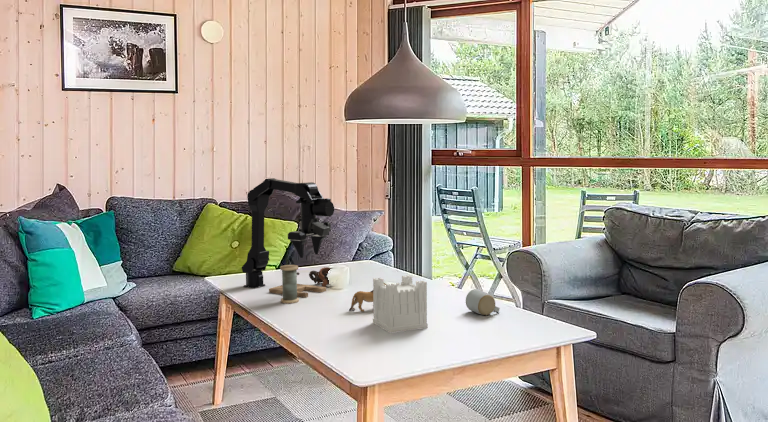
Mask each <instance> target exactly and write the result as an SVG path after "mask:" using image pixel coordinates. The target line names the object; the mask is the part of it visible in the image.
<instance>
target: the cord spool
mask: <svg viewBox="0 0 768 422" xmlns="http://www.w3.org/2000/svg"><path fill="white" fill-rule="evenodd" d="M279 269H280V271H281V274H282V275H281V278H282V280H281V281H282V284H281V285H283V294H282V298H281V299H280V303H283V304H297V303H298V302H300V298H299V297H298V296H297V284H298V279H297V276H298V275H297V270H299V265H297V264H285V265H281V266H280V268H279Z"/></svg>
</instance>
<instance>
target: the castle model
mask: <svg viewBox="0 0 768 422" xmlns="http://www.w3.org/2000/svg"><path fill="white" fill-rule="evenodd" d="M372 282H373V283H372V286H373V287H372V288H373V289H372V290H373V302H372V304H373V305H372V306H374V308H373V318H372V323H373V324H375V326H377V327H380V329H383V331H386V332H388V333H389V334H390V333H391V334H392V333H398V332H406V331H414V330H421V329H422V330H423V329H428V327H429V326H428V325H429V324H428V310H427V308H428V302H427V299H428V298H427V296H428V288H427V285H428V283H427V281H425V280H420V281H419V280H417V281H415V284H413V276H412V275H409V274H407V275H401V282H395V283H394V282H393V283H385V280H384V278H381V277H375V278H374V277H373V278H372ZM384 283H385V284H386V286H385V284H384Z"/></svg>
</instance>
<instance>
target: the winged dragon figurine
mask: <svg viewBox="0 0 768 422" xmlns="http://www.w3.org/2000/svg"><path fill="white" fill-rule="evenodd" d="M330 269H333V268H331V267H327V266H326V267H321V268H320V269H319V271H316V270H311V271H310V272H309V273H308V276H309V279H310V280H311V281H313V282H314V284H317V285H319V284H320V283H321V287H326V288H327V286H329V285H330V284H329V280H328V277H329V276H328V274H329V273H328V271H329V270H330Z"/></svg>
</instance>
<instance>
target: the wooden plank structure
mask: <svg viewBox="0 0 768 422" xmlns="http://www.w3.org/2000/svg"><path fill="white" fill-rule="evenodd" d="M299 275H300V272H297V276H299ZM306 291H307V292H306ZM309 292H314V293H315V292H316V293H324V292H327V286H326V287H323V286H319V285H311V284H304V283H303V284H301V283H297V297H298V298H299V297H301V298H308V297H309ZM268 293H270V294H277V295H279V294H280V295H283V285H282V284H281V285H278V286H273V287H270V288H268Z"/></svg>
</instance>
